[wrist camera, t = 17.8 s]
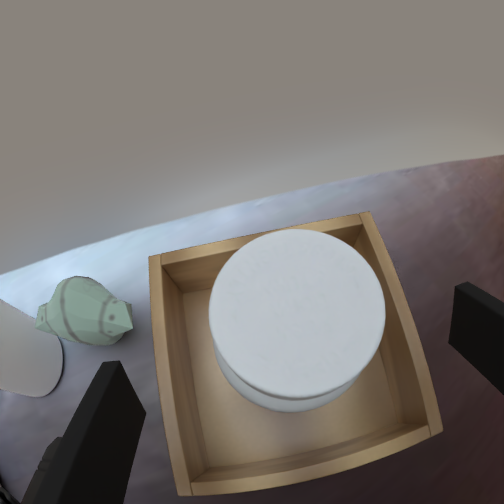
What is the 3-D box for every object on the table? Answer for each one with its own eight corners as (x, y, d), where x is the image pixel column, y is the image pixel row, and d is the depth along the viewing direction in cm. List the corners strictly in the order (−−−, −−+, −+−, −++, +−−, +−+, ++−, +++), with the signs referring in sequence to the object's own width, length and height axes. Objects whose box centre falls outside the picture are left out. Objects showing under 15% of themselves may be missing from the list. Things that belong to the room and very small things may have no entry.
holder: (353, 252, 22) (369, 210, 18) (406, 428, 16) (443, 431, 11) (174, 289, 22) (147, 255, 18) (202, 476, 15) (177, 496, 11)
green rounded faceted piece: (71, 354, 20) (13, 328, 14) (75, 306, 22) (24, 269, 16) (161, 355, 20) (115, 330, 14) (162, 301, 22) (122, 258, 16)
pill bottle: (249, 308, 20) (219, 201, 10) (341, 323, 19) (401, 227, 9) (228, 399, 17) (163, 386, 7) (326, 416, 16) (390, 426, 6)
